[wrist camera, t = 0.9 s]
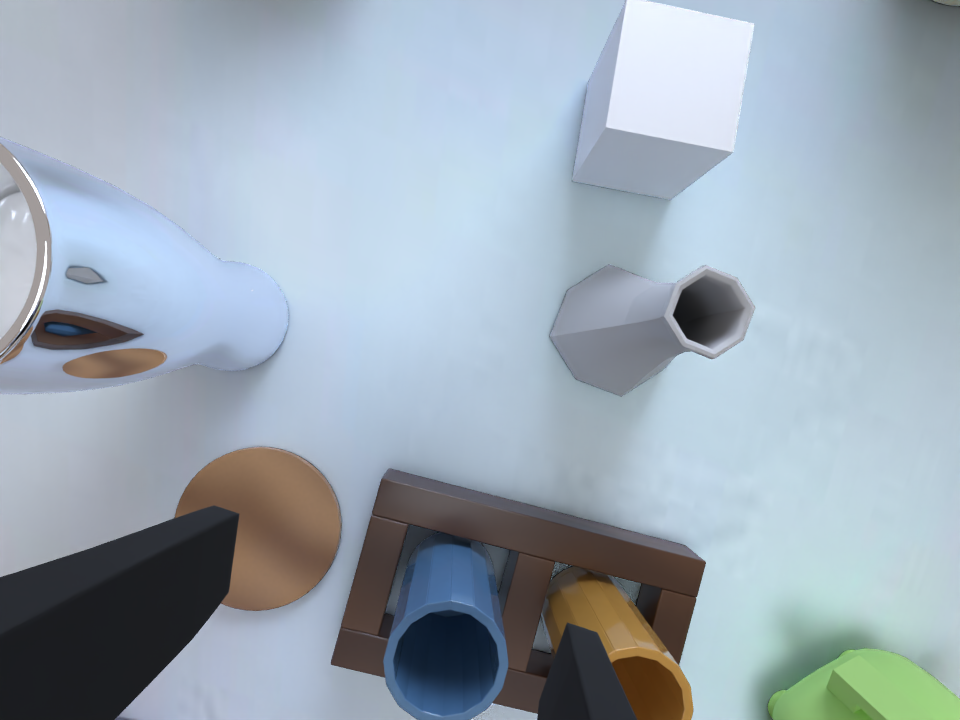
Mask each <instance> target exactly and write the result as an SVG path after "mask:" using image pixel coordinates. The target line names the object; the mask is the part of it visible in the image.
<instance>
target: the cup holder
mask: <svg viewBox="0 0 960 720" xmlns="http://www.w3.org/2000/svg"><path fill="white" fill-rule="evenodd" d="M409 524H411V525H415V526H419V527H423V528H427V529H431V530H434V531H438V532H442V533H446V534H450V535H454V536H458V537H462V538H466V539H470V540H474V541H478V542H482V543H486V544H489V545H493V546H497V547H501V548H505V549H509V550H510V553H509V557H508V561H507V564H506V568H505V572H504V576H503V579H502V583H501V587H500V590H499V594H498V598H499V604H500V610H501V616H502V622H503V627H504V633H505V639H506V646H507V654H508V662H509V664H508V670H507V674H506V677H505V681H504V685H503V688H502V690H501V691H500V693H499V694H498V695H497V697H496V698H495V699H494V701H493V702H492V703H494V704H499V705H503V706H507V707H511V708H515V709H520V710H524V711H528V712H532V713H537V714H538V707H539V700H540V697H541V694H542V691H543V688H544V686H545V683H546V680H547V677H548V674H549V672H550V669H551V666H552V663H553V660H554V659H553V656H552V654H548V653H544V652H540V651H536V650H532V646H533V642H534V638H535V635H536V631H537V627H538V623H539V620H540V616H541V612H542V609H543V605H544V601H545V597H546V594H547V590H548V586H549V583H550V579H551V575H552V571H553V568H554V564H555V561H556V562H560V563H564V564H568V565H572V566H576V567H580V568H584V569H588V570H592V571H596V572H599V573H603V574H607V575H611V576H615V577H619V578H623V579H627V580H631V581H635V582H639V583H642V586H641V590H640V594H639V598H638V601H637V605H636V607H637V609H638V610H639V611H640V613H641V614H642V615H643V617H644V618H645V620H646V621H647V622H648V624H649V625H650V627H651V628H652V629H653V631H654V632H655V633H656V635H657V636H658V638H659V639H660V640H661V642H662V643H663V644H664V646H665V647H666V649H667V650H668V651H669V653H670V654H671V656H672V657H673V658H674V660H675V661H676V662H677V664H678V665H679V663H680V659H681V655H682V652H683V648H684V644H685V640H686V637H687V633H688V629H689V625H690V621H691V618H692V614H693V610H694V606H695V602H696V597H697V595H698V591H699V587H700V583H701V580H702V576H703V572H704V568H705V564H706V562H705V561H704V560H703V559H702V558H700V557H699V556H698V555H697V554H695V553H694V552H693V551H692V550H690V549H689V548H688V547H687V546H686V545H682V544H678V543H674V542H670V541H667V540H663V539H659V538H655V537H651V536H647V535H643V534H640V533H636V532H632V531H628V530H624V529H620V528H617V527H613V526H609V525H605V524H601V523H597V522H593V521H590V520H586V519H582V518H578V517H574V516H570V515H567V514H563V513H559V512H555V511H551V510H547V509H543V508H540V507H536V506H532V505H528V504H524V503H520V502H517V501H513V500H509V499H505V498H501V497H497V496H493V495H490V494H486V493H482V492H478V491H474V490H470V489H467V488H463V487H459V486H455V485H451V484H447V483H443V482H440V481H436V480H432V479H428V478H424V477H420V476H417V475H413V474H409V473H405V472H401V471H397V470H393V469H388V470H387V471H386V473H385V474H384V476H383V477H382V479H381V482H380V486H379V490H378V493H377V497H376V500H375V504H374V508H373V511H372V516H371V519H370V522H369V526H368V529H367V533H366V537H365V540H364V544H363V548H362V551H361V555H360V558H359V562H358V566H357V569H356V573H355V576H354V580H353V584H352V587H351V591H350V595H349V598H348V602H347V605H346V609H345V613H344V616H343V620H342V624H341V628H340V631H339V635H338V638H337V642H336V645H335V649H334V653H333V656H332V660H331V665H334V666H339V667H343V668H347V669H351V670H355V671H360V672H364V673H368V674H372V675H376V676H381V677H385V672H384V664H383V658H384V654H385V650H386V646H387V642H388V638H389V634H390V630H391V626H392V622H393V618H394V616H393V615H388V614H385V610H386V607H387V603H388V600H389V596H390V592H391V589H392V585H393V581H394V578H395V574H396V570H397V567H398V563H399V559H400V556H401V552H402V549H403V545H404V541H405V538H406V534H407V530H408V527H409Z"/></svg>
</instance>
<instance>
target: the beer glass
mask: <svg viewBox="0 0 960 720" xmlns="http://www.w3.org/2000/svg"><path fill="white" fill-rule="evenodd" d="M288 320H289V313H288V306H287V302H286V299H285V296H284V294H283V292H282V290H281V288H280V287H279V285H278V284H277V283H276V282H275V281H274V279H273V278H272V277H271V276H269V275H268V274H267V273H266V272H264V271H263V270H261V269H259V268H258V267H255V266H253V265H250V264H247V263H242V262H236V261H223V260H220V258H217V257H216V256H215V255H213V254H212V253H211V252H210V251H209V250H207V249H206V248H205V247H204V246H203V245H202V244H200V243H199V242H198V241H197V240H196V239H194V238H193V237H192V236H191V235H190V234H188V233H187V232H186V231H185V230H184V229H182V228H181V227H180V226H179V225H177V224H176V223H174V222H173V221H172V220H170V219H169V218H167V217H166V216H165V215H163V214H162V213H160V212H159V211H158V210H156V209H155V208H153V207H152V206H150V205H149V204H147V203H145V202H143V201H142V200H140V199H138V198H136V197H134V196H133V195H131V194H129V193H127V192H125V191H124V190H122V189H120V188H118V187H116V186H115V185H113V184H111V183H108V182H106V181H104V180H102V179H100V178H98V177H96V176H93V175H91V174H89V173H87V172H85V171H83V170H81V169H78V168H76V167H74V166H72V165H70V164H67V163H65V162H62V161H60V160H58V159H55V158H53V157H50V156H48V155H46V154H43V153H41V152H38V151H36V150H33V149H31V148H28V147H26V146H23V145H21V144H18V143H16V142H13V141H11V140H8V139H6V138H3V137H1V136H0V394H42V393H63V392H76V391H84V390H93V389H101V388H110V387H116V386H120V385H125V384H129V383H133V382H138V381H142V380H146V379H150V378H153V377H156V376H160V375H163V374H166V373H170V372H173V371H176V370H179V369H182V368H185V367H188V366H192V365H195V364H200V365H203V366H207V367H210V368H214V369H218V370H224V371H239V370H245V369H249V368H252V367H254V366H257V365H259V364H260V363H262V362H264V361H265V360H267V359H268V358H269V357H270V356H272V355H273V354H274V352H275V351H276V350H277V349H278V348H279V346H280V345H281V343H282V341H283V339H284V337H285V334H286V331H287V327H288Z"/></svg>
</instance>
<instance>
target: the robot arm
mask: <svg viewBox="0 0 960 720" xmlns="http://www.w3.org/2000/svg"><path fill="white" fill-rule="evenodd" d="M238 521H239V513H236V512H233V511H230V510H227V509H224V508H221V507H218V506H215V505H213V506H210V507H207V508H204V509H200V510H197V511H194V512H191V513H189V514H186V515H183V516H180V517H177V518H174V519H172V520H169V521H166V522H163V523H160V524H158V525H155V526H152V527H149V528H147V529H144V530H141V531H138V532H135V533H133V534H130V535H127V536H124V537H121V538H118V539H116V540H113V541H110V542H107V543H104V544H101V545H99V546H96V547H93V548H90V549H87V550H84V551H81V552H78V553H75V554H72V555H69V556H66V557H62V558H59V559H56V560H53V561H50V562H47V563H44V564H41V565H38V566H35V567H31V568H28V569H25V570H22V571H19V572H16V573H13V574H10V575H6V576H3V577H0V720H115V719H116V718H117V717H118V715H119V714H120V713H121V712H122V711H123V710H124V709H125V708H126V707H127V706H128V705H129V704H130V703H131V702H132V701H133V700H134V699H135V698H136V697H137V696H138V695H139V694H140V693H141V692H142V691H143V690H144V689H145V688H146V687H147V686H148V685H149V684H150V683H151V682H152V681H153V680H154V679H155V678H156V677H157V675H158V674H159V673H160V672H161V671H162V670H163V669H164V668H165V667H166V666H167V665H168V664H169V663H170V662H171V661H172V660H173V659H174V658H175V657H176V656H177V655H178V654H179V653H180V652H181V650H182V649H183V648H184V647H185V646H186V645H187V644H188V643H189V642H190V641H191V640H192V639H193V638H194V636H195V635H196V634H197V633H198V631H199V630H200V629H201V628H202V626H203V625H204V624H205V623H206V621H207V620H208V619H209V618H210V616H211V615H212V614H213V612H214V611H215V610H216V609H217V607H218V606H219V605H220V603H221V602H222V601H223V599H224V598H225V597H226V596H227V594H228V593H229V588H230V580H231V573H232V565H233V558H234V551H235V543H236V536H237V529H238ZM537 720H637V718H636V716H635V714H634V712H633V709H632V707H631V705H630V703H629V701H628V699H627V696H626V694H625V692H624V690H623V688H622V686H621V683H620V681H619V679H618V677H617V675H616V672H615V670H614V668H613V666H612V663H611V661H610V659H609V657H608V654H607V652H606V650H605V648H604V645H603V643H602V641H601V639H600V637H599V635H598V633H597V632H595V631H592V630H589V629H586V628H583V627H580V626H577V625H574V624H571V623H568V622H567V624H566V627H565V629H564V632H563V635H562V638H561V641H560V643H559V646H558V649H557V652H556V655H555V658H554V660H553V663H552V666H551V669H550V672H549V674H548V677H547V680H546V683H545V686H544V688H543V691H542V694H541V697H540V700H539V707H538V718H537Z"/></svg>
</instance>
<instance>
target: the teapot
mask: <svg viewBox="0 0 960 720" xmlns="http://www.w3.org/2000/svg"><path fill="white" fill-rule="evenodd" d="M768 712H769V714H770V716H771V717H772V718H773V720H960V699H959V698H958V697H957V696H956V695H955V694H954V693H952V692H951V691H950V690H949V689H948V688H946V687H945V686H944V685H943V684H942V683H940V682H939V681H938V680H937V679H935V678H934V677H933V676H932V675H930V674H929V673H928V672H926V671H925V670H923V669H922V668H920V667H919V666H917V665H916V664H914V663H913V662H912V661H910V660H909V659H907V658H905V657H903V656H901V655H898V654H895V653H892V652H888V651H883V650H878V649H868V648H863V649H858V650H854V649H850V650H846V651H844V652H843V653H842V654H841V655H840V656H839V657H838V659H836V660H834V661H832V662H830V663H828V664H826V665H824V666H823V667H821V668H819V669H817V670H816V671H814V672H813V673H811V674H809V675H808V676H806V677H805V678H803V679H802V680H801V681H799V682H798V683H796V684H795V685H793V686H792V687H791V688H789V689H788V690H780V691H778V692H776V693H774V694H773V695H772V696H771V698H770V700H769V702H768Z"/></svg>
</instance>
